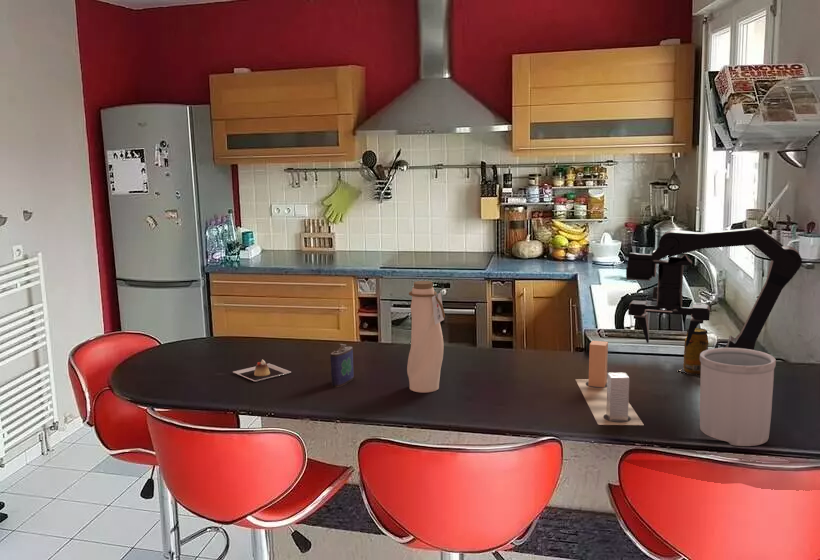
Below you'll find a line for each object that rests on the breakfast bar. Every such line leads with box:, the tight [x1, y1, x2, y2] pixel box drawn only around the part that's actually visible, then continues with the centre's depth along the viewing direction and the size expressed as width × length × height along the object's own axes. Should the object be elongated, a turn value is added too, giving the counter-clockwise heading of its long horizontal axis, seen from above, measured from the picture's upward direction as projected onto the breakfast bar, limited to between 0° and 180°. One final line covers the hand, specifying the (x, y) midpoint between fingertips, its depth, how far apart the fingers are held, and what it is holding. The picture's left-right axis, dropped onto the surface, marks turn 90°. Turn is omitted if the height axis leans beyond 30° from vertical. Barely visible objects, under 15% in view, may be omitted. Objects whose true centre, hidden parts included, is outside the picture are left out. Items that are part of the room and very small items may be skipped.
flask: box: [329, 343, 355, 388], centre depth 199 cm, size 9×3×11 cm, turn 152°
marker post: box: [588, 340, 609, 387], centre depth 192 cm, size 4×4×11 cm
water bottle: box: [406, 280, 446, 394], centre depth 192 cm, size 10×9×28 cm
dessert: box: [232, 359, 292, 383], centre depth 209 cm, size 12×12×5 cm
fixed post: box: [606, 372, 630, 421], centre depth 168 cm, size 4×4×10 cm
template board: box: [575, 378, 644, 426], centre depth 181 cm, size 33×10×1 cm, turn 176°
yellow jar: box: [678, 327, 709, 378], centre depth 204 cm, size 7×8×12 cm
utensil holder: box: [699, 347, 777, 447], centre depth 159 cm, size 15×15×18 cm
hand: (667, 344), depth 185 cm, fingers open, 9 cm apart
